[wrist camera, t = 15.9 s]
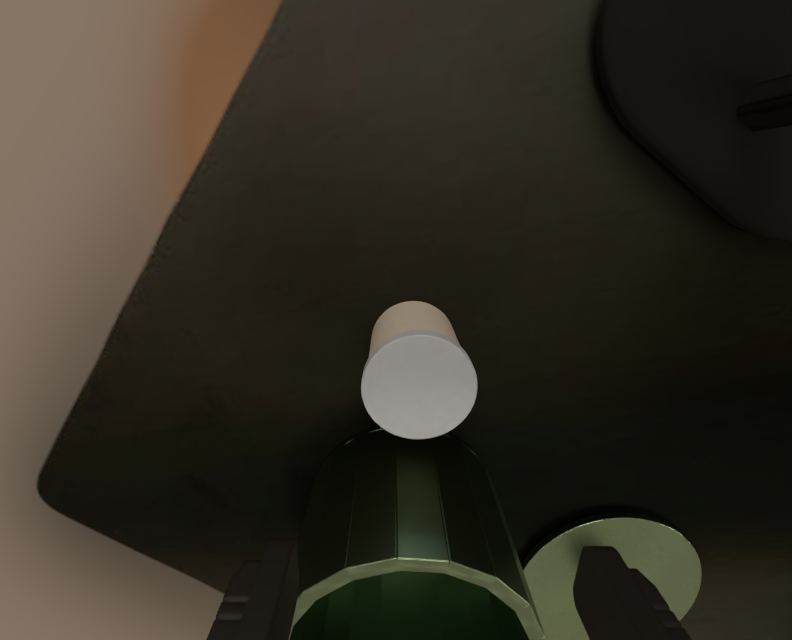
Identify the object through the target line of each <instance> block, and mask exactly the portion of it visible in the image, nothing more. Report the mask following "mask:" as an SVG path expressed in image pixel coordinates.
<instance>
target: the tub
mask: <svg viewBox="0 0 792 640" xmlns="http://www.w3.org/2000/svg"><path fill="white" fill-rule="evenodd" d="M477 386H478V384H477V376H476V372H475V369H474V367H473V364H472V362H471V360H470V358H469V356H468V355H467V353H466V352H465V351H464V349H463V348H462V347H461V346H460V344H459V342H458V340H457V337H456V335H455V333H454V330H453V328H452V326H451V323H450V322H449V320H448V318H447V317H446V316H445V314H444V313H443V312H442V311H440V310H439V309H438V308H436V307H434V306H433V305H431V304H428V303H425V302H420V301H407V302H402V303H399V304H396V305H394V306H392V307H390V308H389V309H387V310H386V311H385V312H384V313H383V314H382V315H381V316H380V317H379V319H378V320H377V322H376V323H375V326H374V328H373V332H372V337H371V345H370V352H369V358H368V360H367V362H366V365H365V367H364V371H363V375H362V382H361V394H362V399H363V403H364V406H365V408H366V410H367V412H368V413H369V415H370V416H371V418H372V419H373V420H374V421H375V422H376V423H377V424H378V425H379V426H380V427H382V428H383V429H384V430H386V431H388V432H389V433H392V434H394V435H396V436H399V437H403V438H408V439H428V438H433V437H437V436H440V435H443V434H445V433H447V432H449V431H451V430H452V429H454V428H455V427H457V426H458V425H459V424H460V423H461V422H462V421H463V420H464V419H465V418H466V417H467V415H468V414H469V412H470V411H471V409H472V407H473V405H474V402H475V399H476V395H477Z"/></svg>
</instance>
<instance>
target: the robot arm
mask: <svg viewBox="0 0 792 640" xmlns="http://www.w3.org/2000/svg"><path fill="white" fill-rule="evenodd" d="M298 587H299V570H298V543H297V539H284V538H270V539H269V540H268V542H267V544H266V547H265V550H264V553H263V556H262V559H261V560H246V561H245V562H244V563H243V565H242V566H241V567H240V568H239V569H238V570H237V572H236V573H235V574H234V575H233V576H232V577H231V580H230V582H229V585H228V587H227V590H226V592H225V595H224V598H223V602H222V603H221V605H220V607H219V610H218V612H217V615H216V620H215V621H214V622H213V625H212V628H211V630H210V633H209V635H208V638H207V640H289V636H290V631H291V626H292V622H293V617H294V613H295V608H296V603H297V596H298ZM573 597H574V602H575V606H576V609H577V612H578V614H579V617H580V619H581V621H582V623H583V626H584V628H585V630H586V632H587V634H588V637H589V639H590V640H691V638H690V637H689V635H688V634H687V632H686V631H685V629H684V628H682V627H681V623H680V622H679V620H678V619H677V617H676V616H675V614H674V613H673V611H670V609H669V605H668V604H667V602H666V601H665V599H664V598H663V596H662V595H661V593H660V592H659V590H658V589H657V588H656V586H655V585H654V584H653V583H652V582H651V581H649V580H648V579H647V578H646V577H645V576H644V575H643V574H642V573H641V572H640V571H639V570H638V569H636V568H628V566H627V565H626V563H625V562H624V560H623V559H622V557H621V555H620V554H619V552H618V551H617V550H616V549H615V548H614V547H612V546H584V547H583V548H582V551H581V555H580V559H579V563H578V567H577V572H576V576H575V580H574V584H573Z"/></svg>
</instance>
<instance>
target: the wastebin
mask: <svg viewBox="0 0 792 640" xmlns="http://www.w3.org/2000/svg"><path fill="white" fill-rule="evenodd" d="M298 570H299V587H298V596H297V603H296V608H295V613H294V617H293V622H292V626H291V631H290V636H289V640H545V634H544V631H543V628H542V625H541V622H540V619H539V616H538V613H537V610H536V607H535V604H534V602H533V599H532V596H531V593H530V590H529V587H528V584H527V581H526V578H525V575H524V572H523V569H522V566H521V563H520V561H519V558H518V555H517V552H516V549H515V546H514V543H513V540H512V537H511V534H510V531H509V528H508V525H507V522H506V520H505V517H504V514H503V511H502V508H501V505H500V502H499V499H498V496H497V493H496V490H495V487H494V485H493V483H492V481H491V478H490V476H489V473H488V471H487V469H486V467H485V465H484V464H483V462H482V460H481V459H480V457H479V456H478V455H477V454H476V453H475V452H474V451H473V449H471V448H470V447H469V446H468V445H467V444H466V443H464V442H463V441H461V440H460V439H458V438H457V437H455V436H453V435H451V434H449V433H445V434H443V435H440V436H437V437H433V438H428V439H408V438H403V437H399V436H396V435H394V434H392V433H389V432H388V431H386V430H384V429H383V428H382V427H380V426H377V427H374V428H370V429H367V430H365V431H362V432H360V433H358V434H356V435H354V436H352V437H350V438H348V439H347V440H345V441H344V442H343V443H341V444H340V445H339V446H337V447H336V448H335V449H334V450H333V451H332V452H331V453H330V454H329V455H328V457H327V458H326V459H325V460H324V462H323V463H322V465H321V467H320V469H319V470H318V473H317V474H316V476H315V480H314V484H313V487H312V491H311V495H310V499H309V503H308V507H307V510H306V514H305V518H304V522H303V526H302V529H301V533H300V537H299V541H298Z"/></svg>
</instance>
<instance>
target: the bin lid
mask: <svg viewBox="0 0 792 640" xmlns="http://www.w3.org/2000/svg"><path fill="white" fill-rule="evenodd" d="M584 546H612V547H614V548H615V549H616V550H617V551H618V552H619V554H620V555H621V557H622V559H623V560H624V562H625V563H626V565H627V566H628V568H636V569H638V570H639V571H640V572H641V573H642V574H643V575H644V576H645V577H646V578H647V579H648V580H649V581H651V582H652V583H653V584H654V585H655V586H656V588H657V589H658V590H659V592H660V593H661V595H662V596H663V598H664V599H665V601H666V602H667V604H668V605H669V609H670V611H673V613H674V614H675V616H676V617H677V619H678V620H679V621H680V620H681V619H682V618H683V617H684V616H685V614H686V613H687V612H688V611H689V609H690V608H691V606H692V605H693V603H694V601H695V599H696V597H697V595H698V592H699V589H700V586H701V578H702V571H701V564H700V560H699V557H698V555H697V553H696V551H695V549H694V548H693V546H692V545H691V544H690V542H689V541H688V540H687V539H686V537H685V536H684V535H683V534H682V533H681V532H680V531H678V530H677V529H676V528H674V527H673V526H671V525H670V524H668V523H666V522H664V521H662V520H660V519H658V518H655V517H651V516H648V515H644V514H639V513H629V512H611V513H603V514H597V515H592V516H588V517H584V518H581V519H579V520H576V521H573V522H571V523H569V524H566V525H564V526H562V527H560V528H559V529H557V530H555V531H553V532H552V533H550V534H549V535H548V536H546V537H545V538H544V539H542V540H541V541H540V542H539V543H538V544H537V545H536V546H535V547H534V548H533V549H532V550H531V551H530V552H529V553H528V555H527V556H526V557H525V559H524V561H523V562H522V564H521V566H522V569H523V572H524V575H525V578H526V581H527V584H528V587H529V590H530V593H531V596H532V599H533V602H534V604H535V607H536V610H537V613H538V616H539V619H540V622H541V625H542V628H543V631H544V634H545V640H590V639H589V637H588V634H587V632H586V630H585V628H584V626H583V623H582V621H581V619H580V617H579V614H578V612H577V609H576V606H575V602H574V597H573V584H574V580H575V576H576V572H577V567H578V563H579V559H580V555H581V551H582V548H583V547H584Z"/></svg>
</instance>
